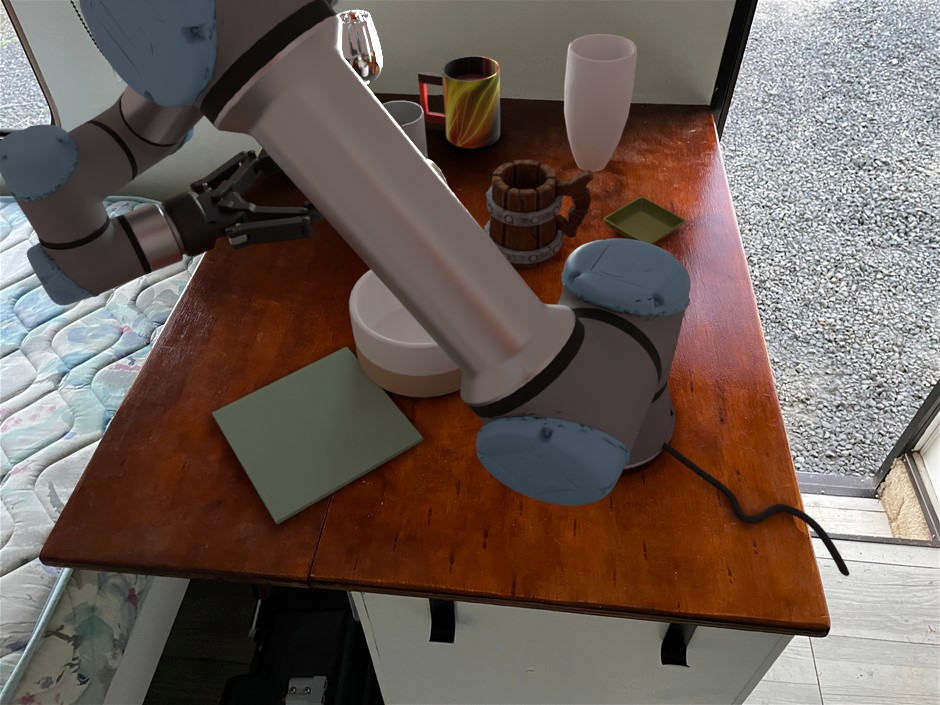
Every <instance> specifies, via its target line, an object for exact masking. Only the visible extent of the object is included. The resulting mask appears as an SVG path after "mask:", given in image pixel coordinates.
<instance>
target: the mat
mask: <svg viewBox="0 0 940 705" xmlns="http://www.w3.org/2000/svg"><path fill="white" fill-rule="evenodd" d="M211 415H212V417H213V418H214V420H215V422H216V423H217V426H218V427H219V429H220V430H221V432H222V434H223V435H224V437H225V439H226V441H227V442H228V444H229V446H230V448H231V449H232V451H233V452H234V455H235V456H236V458H237V460H238V461H239V463H240V465H241V467H242V468H243V470H244V472H245V474H246V475H247V477H248V479H249V480H250V482H251V483H252V486H253V487H254V489H255V491H256V492H257V494H258V495H259V497H260V499H261V500H262V502H263V504H264V506H265V508H266V509H267V511H268V513H269V514H270V516H271V518H272V520H273V521H274V523H275V525H277V526H278V525H279V524H281V523H282V522H285V521H286V520H288V519H289V518H292V517H293V516H295V515H297V514H298V513H301V512H302V511H303V510H305V509H307V508H308V507H311V506H312V505H314V504H316V503H317V502H319V501H321V500H323V499H325V498H326V497H329V495H332V494H334V493H335V492H337V491H338V490H340V489H342V488H344V487H346V486H348V485H349V484H351V483H352V482H354V481H356V480H358V479H359V478H362V477H363V476H364V475H367V474H368V473H370V472H371V471H373V470H376V468H378V467H380V466H382V465H384V464H385V463H387V462H388V461H391V460H392V459H394V458H396V457H398V456H399V455H401V454H403V453H404V452H406V451H408V450H410V449H412V448H413V447H415V446H417V445H418V444H421V443H422V442H423V441H424V437H423V435H421V433H420V432H419V431H418V429H417V428H416V427H415V426H414V425H413V423H412V422H411V421H410V420H409V419H408V417H407V416H406V415H405V414H404V413H403V412H402V411H401V409H400V408H399V407H398V406H397V404H396V403H395V402H394V401H393V400H392V398H391V397H390V396H389V395H388V394H387V392H386V390H385V389H384V388H382V387H380V386H378V385H377V384H375V383H374V382H373V381H372V380H371V379H370V378H368V377H367V375H366V374H365V372H364V371H363V369H362V368H361V366H360V363H359V360H358V357H356V355H355V354H354V353H353V352H352V351H351V349H350V348H349V347H348V346H345V347H343V348H340V349H339V350H336V351H335V352H332V353H330V354H328V355H326V356H324V357H322V358H320V359H318V360H316V361H314V362H312V363H310V364H308V365H306V366H304V367H302V368H300V369H298V370H296V371H294V372H292V373H290V374H288V375H286V376H283V377H281V378H280V379H277V380H275V381H273V382H271V383H269V384H267V385H265V386H263V387H261V388H259V389H257V390H255V391H253V392H251V393H249V394H247V395H245V396H242V397H241V398H239V399H237V400H235V401H233V402H231V403H228V404H226V405H225V406H223V407H220V408H218V409H217V410H214V411H212V412H211Z"/></svg>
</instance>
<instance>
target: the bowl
mask: <svg viewBox="0 0 940 705" xmlns="http://www.w3.org/2000/svg"><path fill="white" fill-rule="evenodd" d="M348 309H349V318H350V322H351V327H352V335H353V339H354V344H355V349H356V356H357V357H356V358H357V359H358V360H359V363H360V366H361V368H362V369H363V371H364V372H365V374H366V375H367V377H368V378H370V379H371V380H372V381H373V382H374V383H375V384H377V385H378V386H380V387H381V388H382V389H383V390H384V391H388V392H390V393H393V394H396V395H398V396H399V395H400V396H404V397H410V398H432V397H433V398H434V397H440V396H445V395H448V394H451V393H452V394H453V393H455V392H457V391H459V390H461V380H462V371H461V370H460V369H459V368H458V366H457V365H456V364H455V363H454V362H453V361H452V360H451V359H450V357H449V356H448V355H447V354H446V353H445V352H444V351H443V350H442V349H441V347H440V346H439V345H438V344H437V343H436V342H435V341H434V340H433V338H432V337H431V336H430V335H429V334H428V333H427V332H426V331H425V329H424V328H423V327H422V326H421V325H420V324H419V323H418V322H417V320H416V319H415V318H414V317H413V316H412V315H411V314H410V313H409V312H408V310H407V309H406V308H405V307H404V306H403V305H402V304H401V303H400V301H399V300H398V299H397V298H396V297H395V296H394V295H393V294H392V292H391V291H390V290H389V289H388V288H387V287H386V286H385V285H384V283H383V282H382V281H381V280H380V279H379V278H378V277H377V276H376V275H375V273H374V272H373V271H372V270H371V269H369V270H368V271H367V272H365V273H364V274H363V275H362V276H361V277H360V278H359V279H358V280H357V281H356V283H355V284H354V286H353V288H352V289H351V292H350V296H349V300H348Z"/></svg>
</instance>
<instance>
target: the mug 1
mask: <svg viewBox="0 0 940 705" xmlns="http://www.w3.org/2000/svg"><path fill="white" fill-rule="evenodd" d="M500 69H501V66H500V64H499V62H497V61H496V60H495V59H492V58H490V57H486V56H480V55H466V56H459V57H456V58H453V59H451V60H449V61H447V62H446V63H444V64H443V66H442V68H441V73H436V72H435V73H434V72H427V71H419V72H418V73H417V81H418V91H419V106H421V107H422V109H423V112H424V122H425V123H433V124H439V125H445V136H446V140H447V141H448V142H449V143H450V144H451V145H454V146H456V147H459V148H463V149H480V148H484V147H488V146H491V145H492V144H494V143H496V142H497V141H498V140H499V139H500V136H501V72H500V71H501V70H500ZM427 85H432V86H439V87H442V89H443V90H442V92H443V104H444V105H443V106H444V113H440V112H435V111H429V103H428V89H427Z"/></svg>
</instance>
